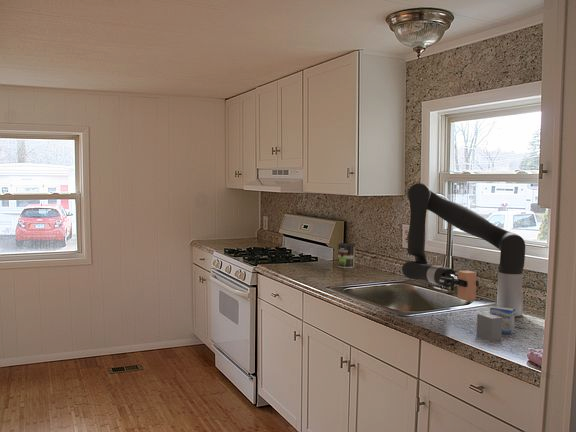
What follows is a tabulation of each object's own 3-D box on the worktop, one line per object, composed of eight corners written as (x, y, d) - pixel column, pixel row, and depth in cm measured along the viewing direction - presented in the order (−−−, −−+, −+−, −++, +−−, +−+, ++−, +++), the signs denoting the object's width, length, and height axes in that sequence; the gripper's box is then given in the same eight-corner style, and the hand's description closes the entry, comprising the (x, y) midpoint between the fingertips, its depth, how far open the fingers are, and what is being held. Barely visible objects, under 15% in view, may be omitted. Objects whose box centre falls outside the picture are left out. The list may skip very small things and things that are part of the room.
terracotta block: (467, 296, 206) (467, 270, 205) (475, 299, 201) (476, 272, 201) (457, 298, 204) (458, 271, 203) (466, 300, 200) (466, 273, 199)
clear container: (349, 269, 332) (349, 245, 331) (334, 267, 338) (334, 244, 337) (357, 266, 340) (358, 244, 339) (343, 265, 346) (343, 242, 345)
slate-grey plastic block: (486, 335, 195) (487, 312, 195) (501, 340, 189) (502, 317, 188) (476, 336, 193) (477, 313, 193) (491, 341, 187) (492, 318, 186)
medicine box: (488, 330, 200) (489, 307, 200) (491, 328, 204) (492, 305, 204) (511, 334, 196) (512, 310, 196) (514, 331, 200) (515, 308, 199)
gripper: (426, 267, 212) (457, 274, 196) (455, 265, 218) (487, 272, 202) (426, 287, 212) (456, 295, 197) (455, 284, 218) (487, 292, 203)
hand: (472, 283), depth 200 cm, fingers closed on terracotta block, 4 cm apart
